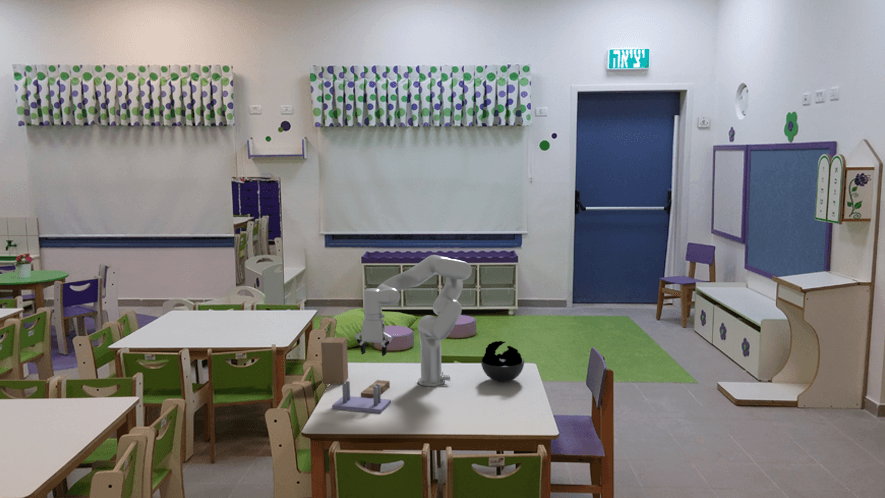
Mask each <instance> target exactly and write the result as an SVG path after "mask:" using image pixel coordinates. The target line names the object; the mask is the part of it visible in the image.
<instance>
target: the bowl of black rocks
mask: <svg viewBox="0 0 885 498" xmlns="http://www.w3.org/2000/svg"><path fill="white" fill-rule="evenodd" d="M505 343H506V341H503V340H496V341H493V342H491V343H489V344H488V345H487V346H486V348H485V352H484V355H483V357H482V358H481V360H480V365H481V368H482V370H483V372H484V373H485V375H486V376H487V377H489V379H491V380H492V381H495V382H497V383H508V382H511V381H514V380H515V379H517V378H518V377H519V376H520V374H521V373H522V371H523V369H524V367H525V366H524V365H525V359H524V358H522V354H521V353H520V352H519V350H518V349H517V348H515V347H513V346H511V345H507V346H506V348H507V350H505V351H503V352H502V353H497V350H498V349H499V348H500V346H502V345H503V344H505ZM496 353H497V354H496Z"/></svg>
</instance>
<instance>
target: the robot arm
mask: <svg viewBox="0 0 885 498" xmlns="http://www.w3.org/2000/svg"><path fill="white" fill-rule="evenodd" d="M472 272H473V270H472V266H471V264H470V263H468V262H466V261H463V260H460V259H455V258H449V257H446V256H441V255H437V254H430V255H429V256H427V257H426V258H424V259H423V260H421V261H420V262H418V263H417V264H415V265H414V266H413V267H411V268H409V269H408V270H405V271H403V272H400V273H398V274H396V275H393V276H391V277H390V278H388V279H386V280H385V281H383V282H382V283H380V284H379V285H378V286H377V287H376V288H374V287H371V288H366V289H364V292H363V303H364V305H363V309H364V318H363V320H362V326H361V331H360V332H358V333H356V334H354V338H355V340H356V342H357V343H358V344H359V346H360V354H361V355H365V354H366V352H367V351H366V344H365V343H378V344H380V345H381V346H382V347H381V356H382V357H384V356H385V355H386V354H387V351H388V350H387V349H388V348H387V346H388V345H389V344H390V343H391V341H392V340H393V336H391V335H390V334H388V333H386V326H385V321H384V318H385V317H386V315H385V314H383V311H382V305H383V306H384V305H385V306H392V305H396V304H397V303H399V301H400V300H401V293H400V292H399V291H401V290H404V289H409V288H415V287H419V286H421V285H423V283H425V282H426V281H427V280H429V279H430V278H432V277H433V276H435V275H438V276H442V277H445V283H444V286H443V288H442V289H441V291H440V293H439V294H438V296H437V297H436V299H435V300H434V303H433V305H432V311H433V313H434V314H436V315H437V317H436V316H434V315H429V314H428V315H427V314H426V315H424V316H422V317H421V318H420V320H419V321H418V326H417V327H418V334H419V336H418V337H419V342H420V376H421V377H419V378H418V379H417V384H419V385H420V386H424V387H438V386H441V385H444V384H445V383H446V381H449V382H450V381H451V376H450V375H449V374H444V371H442V342H441V341H444V340H445V339H447V337H448V336H449V335H450V334H451V332H452V330H453V329H454V327H455V325H456V324H457V322H458V321H459V319H460V317H461V316H462V315H461V314H462V312H463V311H462V309H463V308H462V305H461V303H460V302H459V301H458V300H459V298H460V296H461V294H462V293H463V286H464V282H463V281H464V280H467V279H469V278H470V277H471V275H472ZM360 336H361V338H360Z"/></svg>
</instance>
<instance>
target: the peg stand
mask: <svg viewBox="0 0 885 498" xmlns="http://www.w3.org/2000/svg"><path fill="white" fill-rule="evenodd" d="M350 382H351V381H350V380H346V381H345V382H344V384H341V385H342V387H341V388H342V396H341V397H340V398H339V399H338V400H337V401H335V402H334V403H333V404H332V405H331V407H332V410H343V411H355V412H364V413H365V412H367V413H375V414H376V413H377V414H382V413H383V412H384V411H385V410H386V409H387V408H388V407H389V406H390V405H391V404H392V399H388V398H387V399H386V398H381V397H382V396H381V395H382V394H380V384H376V386H373V398H366V397H361V396H352V395H351V385H350Z"/></svg>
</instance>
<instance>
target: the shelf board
mask: <svg viewBox="0 0 885 498" xmlns="http://www.w3.org/2000/svg"><path fill="white" fill-rule="evenodd" d="M376 384H380V394H381V395H382V394H384V393H385V392H386V391H388V390H389V389H390V385H391V383H390V380H384V379H383V380H381V379H377V380H375V381H374V382H373V383H372V384H370V385H369V386H368V387H367V388H365V389H363V390H362V391H361V392H360V397H366V398H373V386H376Z"/></svg>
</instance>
